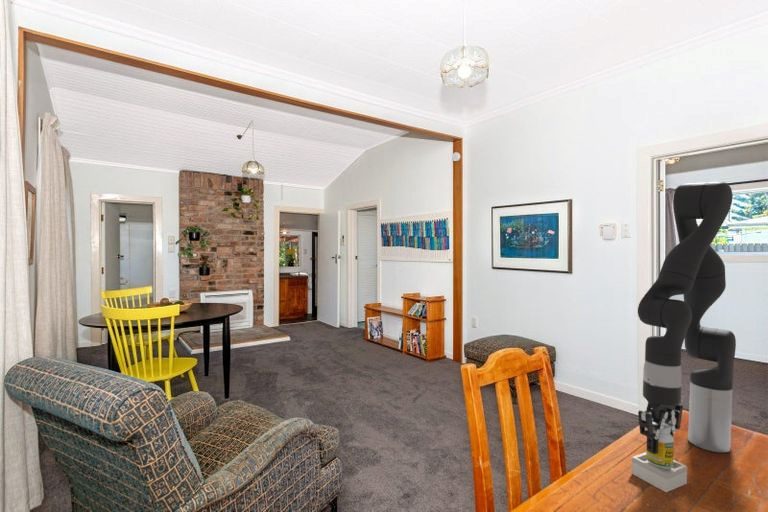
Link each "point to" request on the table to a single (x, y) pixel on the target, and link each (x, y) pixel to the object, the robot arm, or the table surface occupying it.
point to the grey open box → (659, 473)
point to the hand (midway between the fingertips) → (659, 449)
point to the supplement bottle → (663, 449)
